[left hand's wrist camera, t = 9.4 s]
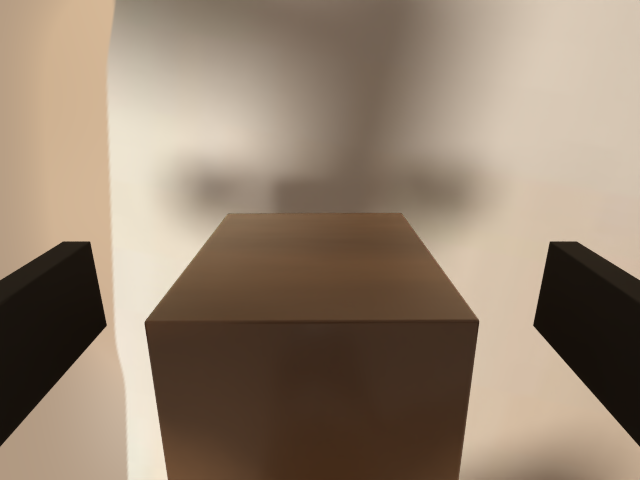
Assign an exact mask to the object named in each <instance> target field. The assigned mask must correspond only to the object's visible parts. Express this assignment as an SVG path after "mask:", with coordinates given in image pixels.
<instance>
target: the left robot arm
mask: <svg viewBox="0 0 640 480" xmlns="http://www.w3.org/2000/svg"><path fill="white" fill-rule="evenodd" d="M106 326H107V324H106V320H105V314H104V309H103V304H102V299H101V294H100V289H99V284H98V279H97V274H96V269H95V264H94V259H93V254H92V249H91V244H90V242H62V243H60V244H59V245H57V246H55V247H54V248H52V249H50V250H49V251H47V252H46V253H44V254H42V255H41V256H39V257H38V258H36V259H34V260H33V261H31V262H29V263H28V264H26V265H24V266H23V267H21V268H20V269H18V270H16V271H15V272H13V273H12V274H10V275H8V276H7V277H5V278H3V279H2V280H0V446H1V445H2V444H3V443H4V442H5V441H6V439H7V438H8V437H9V436H10V435H11V434H12V433H13V431H14V430H15V429H16V428H17V427H18V426H19V425H20V424H21V422H22V421H23V420H24V419H25V418H26V417H27V416H28V414H29V413H30V412H31V411H32V410H33V409H34V408H35V406H36V405H37V404H38V403H39V402H40V401H41V400H42V398H43V397H44V396H45V395H46V394H47V393H48V392H49V391H50V389H51V388H52V387H53V386H54V385H55V384H56V383H57V382H58V380H59V379H60V378H61V377H62V376H63V375H64V374H65V372H66V371H67V370H68V369H69V368H70V367H71V366H72V364H73V363H74V362H75V361H76V360H77V359H78V358H79V357H80V355H81V354H82V353H83V352H84V351H85V350H86V349H87V347H88V346H89V345H90V344H91V343H92V342H93V341H94V339H95V338H96V337H97V336H98V335H99V334H100V333H101V332H102V330H103V329H104V328H105V327H106ZM533 326H534V327H535V328H536V329H537V330H538V332H539V333H540V334H541V335H542V336H543V337H544V338H545V339H546V341H547V342H548V343H549V344H550V345H551V346H552V347H553V349H554V350H555V351H556V352H557V353H558V354H559V355H560V357H561V358H562V359H563V360H564V361H565V362H566V363H567V364H568V366H569V367H570V368H571V369H572V370H573V371H574V372H575V374H576V375H577V376H578V377H579V378H580V379H581V380H582V382H583V383H584V384H585V385H586V386H587V387H588V388H589V389H590V391H591V392H592V393H593V394H594V395H595V396H596V397H597V399H598V400H599V401H600V402H601V403H602V404H603V405H604V406H605V408H606V409H607V410H608V411H609V412H610V413H611V414H612V416H613V417H614V418H615V419H616V420H617V421H618V422H619V424H620V425H621V426H622V427H623V428H624V429H625V430H626V431H627V433H628V434H629V435H630V436H631V437H632V438H633V439H634V441H635V442H636V443H637V444H638V445H639V446H640V280H638V279H637V278H635V277H633V276H632V275H630V274H629V273H627V272H625V271H624V270H622V269H620V268H619V267H617V266H616V265H614V264H612V263H611V262H609V261H607V260H606V259H604V258H603V257H601V256H599V255H598V254H596V253H594V252H593V251H591V250H590V249H588V248H586V247H585V246H583V245H581V244H580V243H578V242H550V244H549V249H548V254H547V259H546V264H545V269H544V274H543V279H542V284H541V289H540V294H539V299H538V304H537V309H536V314H535V319H534V324H533Z"/></svg>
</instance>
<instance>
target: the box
mask: <svg viewBox="0 0 640 480" xmlns="http://www.w3.org/2000/svg"><path fill="white" fill-rule="evenodd" d="M478 327H479V320H478V318H477V317H476V315H475V314H474V313H473V311H472V310H471V308H470V307H469V306H468V304H467V303H466V302H465V300H464V299H463V297H462V296H461V295H460V293H459V292H458V291H457V289H456V288H455V286H454V285H453V284H452V282H451V281H450V279H449V278H448V277H447V275H446V274H445V273H444V271H443V270H442V268H441V267H440V266H439V264H438V263H437V262H436V260H435V259H434V257H433V256H432V255H431V253H430V252H429V250H428V249H427V248H426V246H425V245H424V244H423V242H422V241H421V239H420V238H419V237H418V235H417V234H416V233H415V231H414V230H413V228H412V227H411V226H410V224H409V223H408V221H407V220H406V219H405V217H404V216H403V215H402V213H268V214H227V216H226V217H225V218H224V220H223V221H222V222H221V223H220V225H219V226H218V227H217V229H216V230H215V231H214V233H213V234H212V235H211V236H210V238H209V239H208V240H207V242H206V243H205V244H204V246H203V247H202V248H201V249H200V251H199V252H198V253H197V255H196V256H195V257H194V258H193V260H192V261H191V262H190V264H189V265H188V266H187V268H186V269H185V270H184V271H183V273H182V274H181V275H180V277H179V278H178V279H177V281H176V282H175V283H174V284H173V286H172V287H171V288H170V290H169V291H168V292H167V294H166V295H165V296H164V297H163V299H162V300H161V301H160V303H159V304H158V305H157V306H156V308H155V309H154V310H153V312H152V313H151V314H150V316H149V317H148V318H147V319H146V321H145V329H146V336H147V343H148V349H149V356H150V363H151V369H152V376H153V383H154V389H155V396H156V403H157V410H158V416H159V423H160V430H161V436H162V443H163V450H164V456H165V463H166V470H167V476H168V480H458V479H459V472H460V464H461V456H462V449H463V441H464V434H465V426H466V418H467V411H468V403H469V396H470V388H471V380H472V373H473V365H474V357H475V350H476V342H477V335H478Z"/></svg>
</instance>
